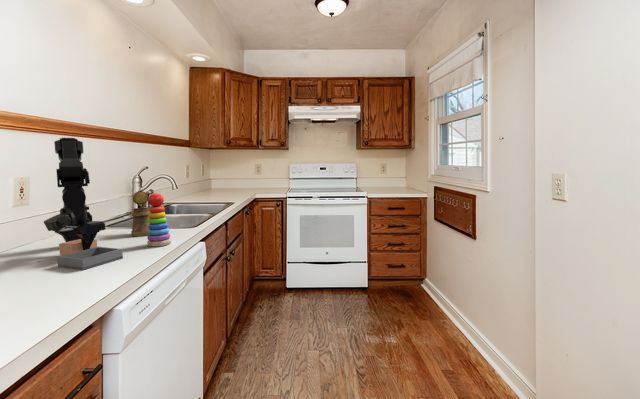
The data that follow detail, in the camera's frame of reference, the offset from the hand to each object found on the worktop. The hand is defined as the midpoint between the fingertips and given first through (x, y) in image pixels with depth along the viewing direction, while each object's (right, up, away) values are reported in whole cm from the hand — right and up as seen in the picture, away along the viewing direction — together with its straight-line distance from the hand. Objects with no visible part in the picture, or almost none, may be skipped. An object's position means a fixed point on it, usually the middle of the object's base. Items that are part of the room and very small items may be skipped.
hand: (79, 251), depth 111 cm
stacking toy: (+20, 0, +13) cm, 24 cm away
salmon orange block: (0, -1, 0) cm, 1 cm away
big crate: (+10, -2, -9) cm, 14 cm away
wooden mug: (+3, +2, +34) cm, 34 cm away
